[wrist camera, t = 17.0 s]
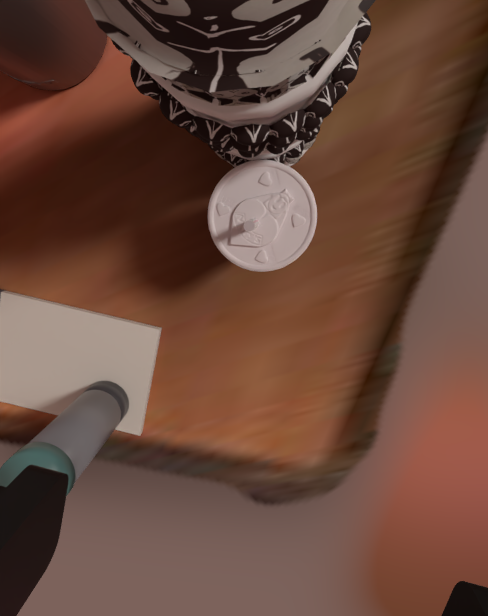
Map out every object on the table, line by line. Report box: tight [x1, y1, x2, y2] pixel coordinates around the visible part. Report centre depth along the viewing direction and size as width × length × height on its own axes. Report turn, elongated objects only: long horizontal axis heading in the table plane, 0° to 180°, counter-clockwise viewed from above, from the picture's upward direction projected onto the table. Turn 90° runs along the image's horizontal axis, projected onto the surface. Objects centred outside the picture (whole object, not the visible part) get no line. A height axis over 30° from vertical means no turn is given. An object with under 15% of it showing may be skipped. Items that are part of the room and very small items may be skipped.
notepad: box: [0, 289, 162, 436], centre depth 38 cm, size 10×15×1 cm, turn 77°
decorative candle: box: [85, 0, 375, 168], centre depth 21 cm, size 9×9×25 cm
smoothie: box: [208, 160, 317, 272], centre depth 27 cm, size 6×6×14 cm
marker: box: [0, 381, 129, 496], centre depth 32 cm, size 4×4×12 cm
